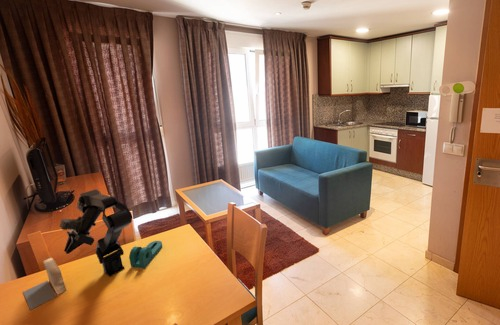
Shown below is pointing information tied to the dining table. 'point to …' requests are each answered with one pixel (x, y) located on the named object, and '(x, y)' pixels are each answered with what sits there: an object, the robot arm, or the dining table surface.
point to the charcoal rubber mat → (39, 295)
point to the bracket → (144, 254)
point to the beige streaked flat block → (54, 276)
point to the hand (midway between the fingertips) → (65, 252)
